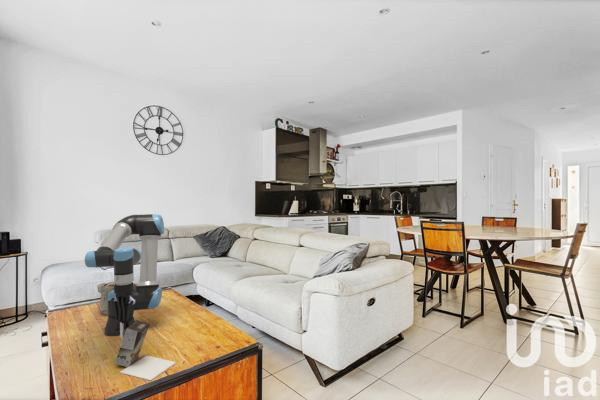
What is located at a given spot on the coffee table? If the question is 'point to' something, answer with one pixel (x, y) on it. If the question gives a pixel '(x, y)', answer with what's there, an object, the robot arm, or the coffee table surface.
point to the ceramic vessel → (106, 295)
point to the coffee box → (132, 343)
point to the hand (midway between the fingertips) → (124, 336)
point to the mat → (148, 368)
